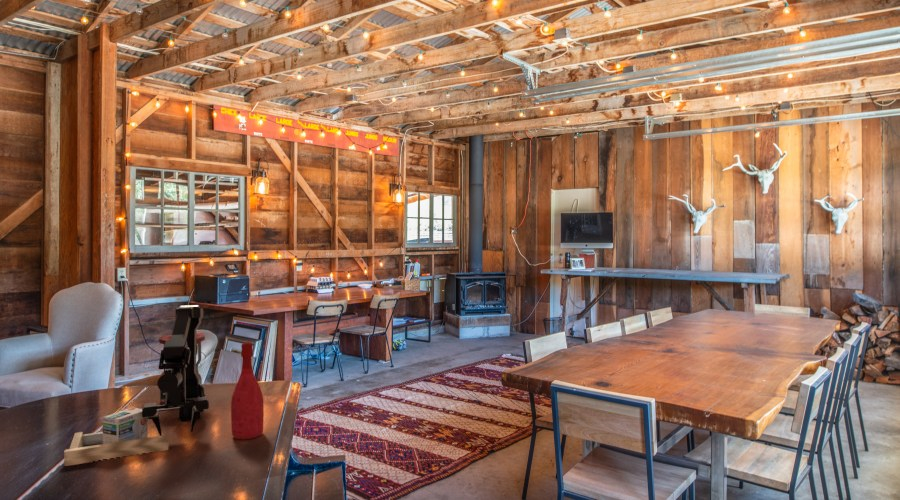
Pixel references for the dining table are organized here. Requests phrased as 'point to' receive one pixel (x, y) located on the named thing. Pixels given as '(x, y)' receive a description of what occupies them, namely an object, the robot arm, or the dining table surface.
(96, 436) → the lip
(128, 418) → the light bulb box
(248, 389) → the wine bottle
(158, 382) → the robot arm
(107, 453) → the wall board
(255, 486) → the dining table surface
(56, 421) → the dining table surface
